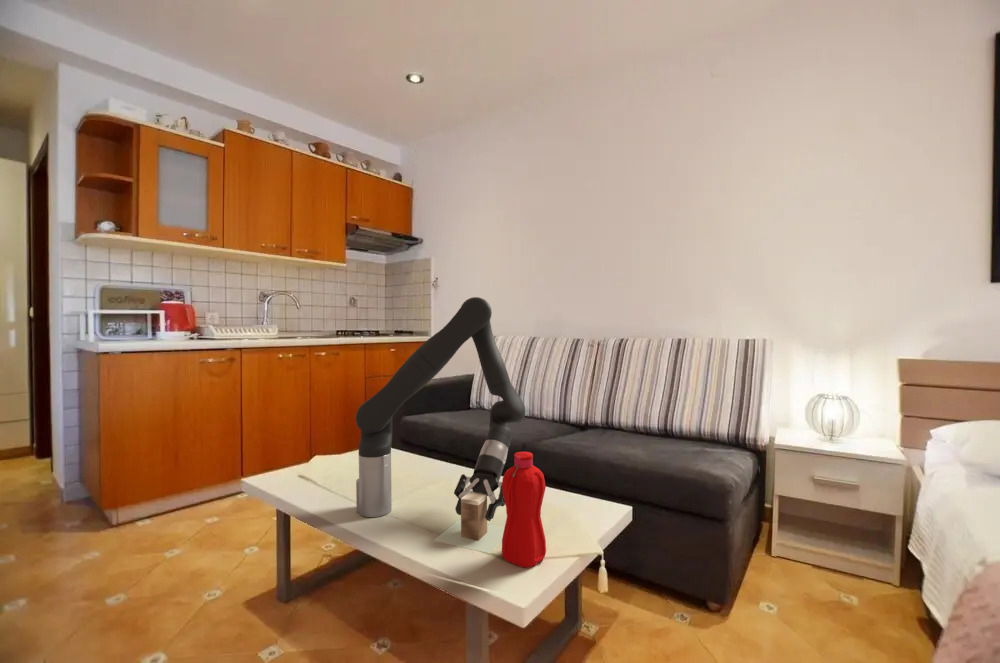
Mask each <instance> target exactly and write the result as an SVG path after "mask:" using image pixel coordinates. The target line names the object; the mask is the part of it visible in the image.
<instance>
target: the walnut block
mask: <svg viewBox="0 0 1000 663" xmlns="http://www.w3.org/2000/svg"><path fill="white" fill-rule="evenodd" d="M487 510H488V496H487V495H486V494H480V493H474V492H469V493H468V494H467V495H465V496H464V497H462V498H461V515H460V519H461V537H463V538H468V539H473V540H477V541H479V540H480V539H481V538H482V537H483V536H484V535H485V534H486V533H487V524H488V521H487V520H486V518H485V516H486V513H487Z"/></svg>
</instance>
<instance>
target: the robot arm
mask: <svg viewBox="0 0 1000 663" xmlns="http://www.w3.org/2000/svg"><path fill="white" fill-rule="evenodd" d="M492 312H493V311H492V307H491V305H490V303H489V302H488V301H487V300H486V299H484V298H482V297H479V296H478V297H477V296H476V297H475V296H474V297H470V298H468V299H465V301H464V302H463V303H462V304H461V305H460V308H459V309H458V311H457V312H456V313H455V314H454V315H453V317H452V318H451V319H450V320H449V322H447V323H446V325H445V326H443V328H442V329H440V330H439V331H437V332H436V333H435V334H434V335H432V336H430V338H428V339H427V340H426V341H424V342H423V343H422V344H421V345H420V346H419V347H417V349H416V350H415V351H414V352H413V353H412V354H411V355H410V356H409V357H408V358H407V359H406V360H405V361H404V363H402V365H401V366H400V367H399V368H398V370H397V371H396V372H395V373H394V374H393V376H392V377H391V378H390V380H389V381H388V382H387V383H386V384H385V385H384V386H383V387H382V388H381V389H380V390H379V391H377V393H375V394H374V395H373V396H372V397H371V398H369V399H367V400H366V401H365V402H362V403H361V405H360V406H359V407H358V409H357V411H356V414H355V423H356V425H357V428H358V429H360V439H359V443H358V478H357V479H356V481H355V482H356V483H355V484H356V485H355V487H356V488H355V491H356V494H355V496H356V513H359V515H361V516H362V517H367V518H377V517H382V516H385V515H387V514H389V513H391V512H392V509H393V508H392V500H393V499H392V494H393V493H392V441H393V416H394V415H395V414H396V412H398V410H399V409H400V408H401V407H402V406H403V405H404V404H405V403H406V402H407V400H410V398H412V397H413V396H414V395H416V394H417V393H418V392H419V391H420V390H422V388H424V387H425V386H426V385H427V384H428V383H429V382H430V381H431V380H433V379H434V378H435V376H437V375H438V374H439V372H441V371H442V369H443V368H445V366H447V364H448V363H449V361H450V360H451V359H452V358H453V357H454V356H455V355H456V353H457V352H458V351H459V349H460V348H461V347H462V346H463V344H465V343H466V342H467V341H468V340H469V339H471V338H472V340H473V344H474V346H475V349H476V352H477V356H478V359H479V360H478V361H479V364H480V367H481V370H482V374H483V377H484V379H485V383H486V386H487V389H488V391H489V393H490V394H491V395H492V396H496V397H499V398H501V399H502V400H498V401H496V402H494V404H493V405H492V406H491V408H490V412H489V424H488V425H489V426H488V433H487V436H486V438H485V441H484V443H483V445H482V448H481V449H480V452H479V455H478V458H477V461H476V464H475V466H474V469H473V473H472V476H466V475H465V474H464V473H463V474H461V475H460V478H459V480H458V482H457V484H456V487H455V489H454V492H453V495H455V497H456V498H457V499H458V500H457V503H456V505H455V509H454V510H455V512H456V514H457V516H458V515H459V516H461V498H462V497H464V496H465V495H467V494H468V493H469V492H474V493H480V494H486V495H487V497H488V498H489V501H490V503H489V504H488V505H487V513H486V516H485V518H486V520H487V522H491V520H492V519H494V517H495V513H496V510H497V508H498V507H505V506H506V505H505V501H504V496H503V492H502V481H500V480H501V476H502V473H503V470H504V467H505V464H506V462H507V459H508V458H507V457H508V451H509V449H510V446H511V445H510V444H511V442H512V438H513V431H512V430H511V428H510V427H508V426H506V424H513V423H520V422H521V421H524V419H525V416H526V407H525V403H524V402H523V400H522V398H521V397H520V395H519V393H518V391H517V390H516V388H515V387H514V386H513V384H512V383H511V379H510V377H509V373H508V370H507V367H506V365H505V362H504V360H503V356H502V355H501V353H500V350H499V347H498V346H497V342H496V341H495V337H494V333H493V331H492V330H493V329H492V324H491V319H492V314H493V313H492ZM498 488H499V493H498V498H496V495H495V491H497V489H498Z"/></svg>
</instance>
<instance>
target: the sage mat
mask: <svg viewBox="0 0 1000 663" xmlns="http://www.w3.org/2000/svg"><path fill="white" fill-rule="evenodd" d="M504 528H505V526H504V527H503V526H499V525H494V524H490V523H487V533H486V534H485V535H484V536H483V537H482V538H481V539H480V540H479V541H477V540H473V539H468V538H463V537H461V518H460V519H459V520H457V521H455V523H453V524H452V525H451V526H450V527H448V528H447V529H446V530H445V531H444V532H442V533H440V534H439V535H438V536H437V537H436V538H435V539H433V542H436V543H437V542H438V543H441V544H447V545H452V546H453V547H454V546H455V547H459V548H464V549H469V550H473V551H477V552H482V553H485V554H490V555H491V554H492V553H493V551H494V550H495V549H496V548H497V547H498V546H499V545H500V544H502V538H503V533H504ZM493 548H494V550H493Z"/></svg>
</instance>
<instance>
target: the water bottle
mask: <svg viewBox="0 0 1000 663" xmlns="http://www.w3.org/2000/svg"><path fill="white" fill-rule="evenodd" d="M513 457H514V459H513V460H514V465H513V466H511V467H510V468H508V469H507V470H506V471H505V472H504V474H503V477H502V481H501V482H502V492H503V496H504V501H505V505H504V506H505V511H506V520H505V523H504V527H505V528H504V533H503V538H502V542H501V554H502V558H503V560H504V561H506V562H507V563H510V564H513V565H515V566H517V567H520V568H531V567H534V566H536V565H537V564H538V563H539V562H541V561H544V559H545V557H546V554H547V543H546V542H547V540H546V535H545V531H544V526H543V525H544V524H543V522H542V517H541V514H542V505H543V502H544V498H545V497H544V496H545V493H546V487H547V486H546V480H545V477H544V473H543V472H542V471H541V469H540V468H538V467H536V466H535V465H534V462H533V461H534V460H533V459H534V455H533V453H532V452H530V451H518V452H515V453H514V456H513Z"/></svg>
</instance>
